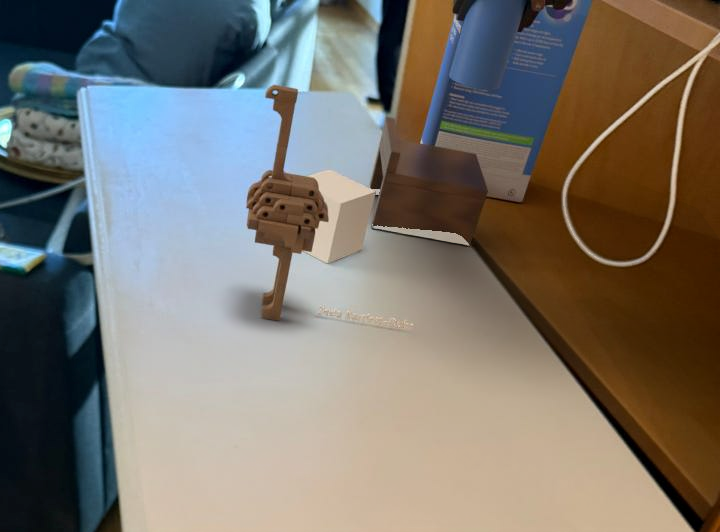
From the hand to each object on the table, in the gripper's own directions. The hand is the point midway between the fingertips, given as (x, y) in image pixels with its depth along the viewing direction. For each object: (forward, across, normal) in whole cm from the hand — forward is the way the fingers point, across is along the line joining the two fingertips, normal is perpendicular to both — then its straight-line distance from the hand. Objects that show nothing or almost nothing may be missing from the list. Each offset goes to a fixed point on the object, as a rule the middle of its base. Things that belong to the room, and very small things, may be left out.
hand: (489, 16), depth 91 cm
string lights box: (+24, -6, +4) cm, 25 cm away
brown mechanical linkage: (-5, +12, +34) cm, 36 cm away
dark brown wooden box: (+14, +1, +14) cm, 20 cm away
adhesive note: (+6, +12, +22) cm, 26 cm away
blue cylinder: (+2, 0, +5) cm, 6 cm away
